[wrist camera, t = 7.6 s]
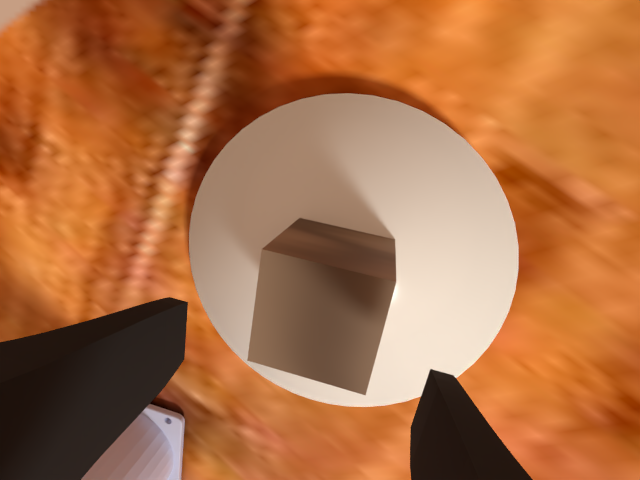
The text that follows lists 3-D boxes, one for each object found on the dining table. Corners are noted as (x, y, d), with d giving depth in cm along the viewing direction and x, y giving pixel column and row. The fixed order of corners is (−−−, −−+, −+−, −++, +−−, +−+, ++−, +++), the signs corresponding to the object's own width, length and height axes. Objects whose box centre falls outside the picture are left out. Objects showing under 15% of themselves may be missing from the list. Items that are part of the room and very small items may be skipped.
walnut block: (285, 302, 18) (247, 360, 13) (299, 217, 16) (261, 249, 12) (373, 325, 17) (365, 395, 12) (395, 239, 16) (396, 282, 11)
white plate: (191, 350, 21) (181, 360, 20) (209, 70, 16) (198, 66, 15) (453, 428, 19) (456, 443, 18) (568, 130, 14) (581, 130, 13)
